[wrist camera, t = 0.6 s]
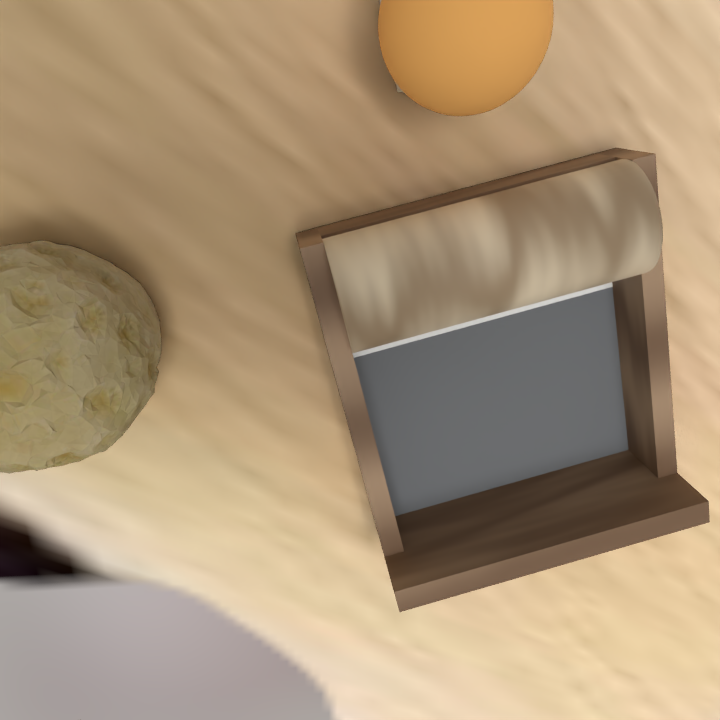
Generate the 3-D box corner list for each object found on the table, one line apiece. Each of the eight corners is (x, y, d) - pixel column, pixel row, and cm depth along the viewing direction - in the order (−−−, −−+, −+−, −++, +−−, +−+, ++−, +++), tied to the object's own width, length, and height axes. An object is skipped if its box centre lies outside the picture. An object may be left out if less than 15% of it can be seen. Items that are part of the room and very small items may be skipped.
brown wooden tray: (295, 233, 31) (303, 263, 26) (615, 147, 32) (691, 159, 26) (378, 535, 38) (399, 612, 32) (643, 459, 38) (709, 522, 33)
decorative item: (178, 286, 35) (141, 183, 26) (173, 481, 32) (129, 448, 23) (-20, 286, 34) (-136, 178, 24) (-43, 488, 31) (-184, 457, 22)
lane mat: (295, 233, 31) (296, 235, 31) (615, 147, 32) (620, 148, 31) (378, 535, 38) (380, 540, 37) (643, 459, 38) (648, 463, 38)
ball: (350, -36, 26) (375, -72, 20) (505, -74, 26) (572, -120, 20) (385, 130, 28) (416, 139, 22) (527, 93, 28) (593, 92, 23)
